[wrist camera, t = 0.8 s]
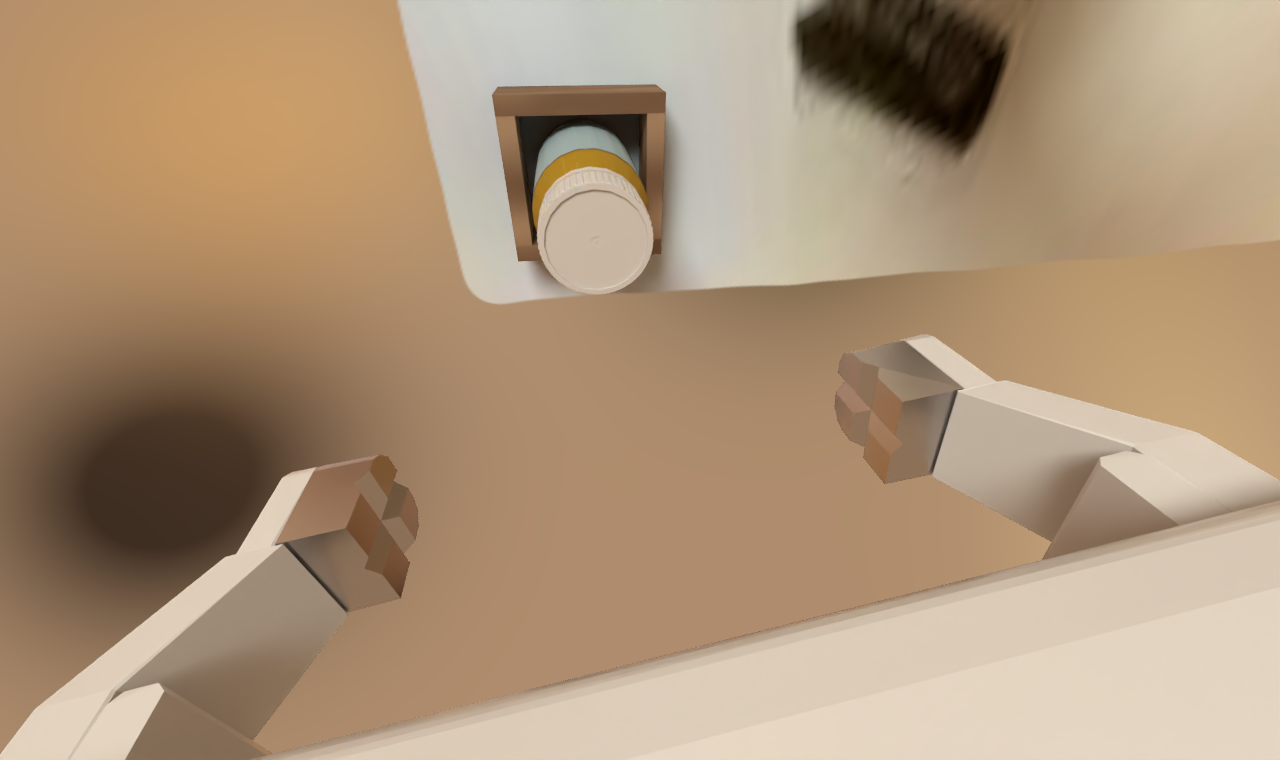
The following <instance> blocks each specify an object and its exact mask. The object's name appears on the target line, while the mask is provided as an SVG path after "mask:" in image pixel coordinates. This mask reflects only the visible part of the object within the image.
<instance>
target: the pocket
mask: <svg viewBox="0 0 1280 760" xmlns="http://www.w3.org/2000/svg"><path fill="white" fill-rule="evenodd" d="M492 98H493V104H494V110H495V117H496V123H497V129H498V136H499V142H500V148H501V155H502V161H503V167H504V174H505V180H506V186H507V193H508V199H509V205H510V212H511V218H512V224H513V231H514V237H515V243H516V250H517V256H518V261H535V260H542V257H541V255H540V250H539V249H538V243H537V230H536V228H535V226H534V222H533V214H532V207H531V199H530V192H529V184H528V176H527V169H526V161H525V153H524V146H523V138H522V131H521V123H520V116H554V115H602V114H639V177H640V179H641V181H642V183H643V186H644V189H645V192H646V195H647V198H648V214H649V216H650V219H651V222H652V226H653V233H654V236H653V239H654V242H653V248H652V253H651V254H661V234H662V202H663V169H664V136H665V103H666V92H665V91H663V90H662V89H661V88H660V87H658V86H657V85H592V86H521V87H497V89H496V90H495V92H494V93H493V95H492Z"/></svg>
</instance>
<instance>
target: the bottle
mask: <svg viewBox="0 0 1280 760" xmlns="http://www.w3.org/2000/svg"><path fill="white" fill-rule="evenodd" d="M532 212H533V218H534V225H535V228H536V230H537V243H538V249H539V250H540V255H541V257H542V261H543V262H544V264H545V266H546V268H547V269H548V271H549V272H550V273H551V274H552V276H553V277H554V278H555V279H556V280H558V281H559V282H560V283H561V284H563V285H564V286H566V287H568V288H570V289H572V290H574V291H577V292H580V293H584V294H592V295H599V294H607V293H611V292H615V291H617V290H620V289H622V288H624V287H626V286H627V285H629V284H630V283H632V282H633V281H634V280H635V279H636V278H637V277H638V276H639V275H640V274H641V273H642V271H643V270H644V269H645V267H646V265H647V263H648V261H649V259H650V256H651V253H652V248H653V242H654V239H653V236H654V233H653V226H652V222H651V219H650V216H649V214H648V198H647V195H646V192H645V189H644V186H643V183H642V181H641V179H640V177H639V175H638V173H637V171H636V169H635V167H634V165H633V163H632V161H631V159H630V157H629V155H628V153H627V151H626V149H625V147H624V145H623V144H622V142H621V141H620V140H619V138H618V137H617V136H616V135H615V133H614V132H612V131H611V130H610V129H608V128H607V127H605V126H604V125H602V124H600V123H597V122H594V121H590V120H573V121H569V122H567V123H564V124H562V125H560V126H558V127H557V128H555V129H554V130H553V131H552V132H551V133H550V134H549V135H548V136H547V137H546V139H545V141H544V143H543V144H542V146H541V148H540V151H539V154H538V160H537V166H536V174H535V183H534V192H533V200H532Z"/></svg>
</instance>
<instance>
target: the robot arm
mask: <svg viewBox="0 0 1280 760" xmlns="http://www.w3.org/2000/svg"><path fill="white" fill-rule="evenodd" d="M838 373H839V374H840V376H841V377H842V378H843V379H844V380H845V381H844V383H843V384H842V385H841V386H840V388H839V389H838V390H837V392H836V396H835V410H836V415H837V420H838V422H839V424H840V426H841V429H842V431H843V432H844V433H845V435H846V436H847V437H848V438H849V440H850V441H852V442H855V443H857V444H859V445H861V446H864V447H865V449H864V456H863V458H864V459H865V460H866V461H867V463H868V464H869V465H870V466H871V468H872V469H873V470H874V471H875V472H876V474H877V475H878V476H879V478H880V479H881V480H882V481H883V483H884V484H887V483H891V482H897V481H902V480H906V479H911V478H915V477H921V476H925V475H930V474H932V477H934V478H935V479H937V480H939V481H941V482H943V483H945V484H947V485H948V486H950V487H952V488H954V489H956V490H957V491H959V492H961V493H963V494H965V495H967V496H968V497H970V498H972V499H974V500H976V501H978V502H980V503H981V504H983V505H985V506H987V507H989V508H990V509H992V510H994V511H996V512H998V513H1000V514H1002V515H1003V516H1005V517H1007V518H1009V519H1011V520H1013V521H1014V522H1016V523H1018V524H1020V525H1022V526H1024V527H1025V528H1027V529H1029V530H1031V531H1033V532H1035V533H1036V534H1038V535H1040V536H1042V537H1044V538H1046V539H1047V540H1050V541H1051V542H1052V543H1051V544H1050V546H1049V548H1048V550H1047V552H1046V553H1045V555H1044V557H1043V558H1042V560H1041V561H1037V562H1033V563H1029V564H1025V565H1021V566H1017V567H1013V568H1009V569H1005V570H1001V571H997V572H993V573H990V574H985V575H982V576H977V577H973V578H969V579H966V580H961V581H957V582H953V583H949V584H945V585H941V586H938V587H934V588H930V589H926V590H922V591H918V592H914V593H910V594H906V595H902V596H898V597H894V598H890V599H886V600H882V601H878V602H874V603H870V604H866V605H862V606H858V607H854V608H850V609H846V610H842V611H838V612H834V613H830V614H827V615H823V616H818V617H814V618H810V619H806V620H803V621H799V622H795V623H791V624H787V625H783V626H779V627H775V628H771V629H767V630H763V631H759V632H755V633H751V634H747V635H743V636H739V637H735V638H731V639H728V640H723V641H720V642H715V643H711V644H707V645H703V646H699V647H695V648H691V649H687V650H684V651H680V652H675V653H672V654H668V655H664V656H660V657H656V658H652V659H648V660H644V661H640V662H636V663H632V664H628V665H624V666H620V667H616V668H612V669H608V670H605V671H600V672H596V673H593V674H589V675H585V676H580V677H577V678H573V679H569V680H565V681H561V682H557V683H553V684H549V685H545V686H541V687H537V688H533V689H529V690H525V691H521V692H517V693H513V694H509V695H505V696H501V697H497V698H493V699H489V700H485V701H481V702H477V703H473V704H469V705H466V706H461V707H457V708H453V709H449V710H445V711H442V712H437V713H434V714H429V715H425V716H422V717H418V718H414V719H410V720H406V721H402V722H398V723H394V724H390V725H386V726H382V727H378V728H374V729H370V730H366V731H362V732H358V733H354V734H350V735H346V736H342V737H338V738H334V739H330V740H326V741H322V742H319V743H314V744H310V745H306V746H303V747H298V748H295V749H290V750H286V751H282V752H278V753H274V754H273V753H271V752H270V751H268V750H267V749H265V748H264V747H262V746H260V745H259V744H257V743H255V742H254V741H253V739H254V738H255V737H256V736H257V734H258V733H259V732H260V730H261V729H262V728H263V726H264V725H265V724H266V722H267V721H268V720H269V718H270V717H271V716H272V715H273V713H274V712H275V711H276V709H277V708H278V707H279V705H280V704H281V703H282V701H283V700H284V699H285V698H286V696H287V695H288V694H289V692H290V691H291V690H292V688H293V687H294V686H295V684H296V683H297V682H298V681H299V679H300V678H301V677H302V675H303V674H304V672H305V671H306V670H307V669H308V668H309V666H310V665H311V664H312V662H313V661H314V660H315V658H316V657H317V656H318V654H319V653H320V652H321V650H322V649H323V648H324V647H325V645H326V644H327V643H328V641H329V640H330V639H331V637H332V636H333V635H334V633H335V632H336V631H337V630H338V628H339V627H340V626H341V624H342V623H343V622H344V620H345V619H346V618H347V616H348V613H347V612H351V611H355V610H359V609H363V608H366V607H370V606H374V605H378V604H382V603H385V602H389V601H393V600H397V599H400V598H401V596H402V592H403V588H404V584H405V580H406V576H407V572H408V568H409V564H410V562H409V561H408V559H407V558H406V557H405V555H404V553H405V551H406V550H407V549H408V548H409V547H410V546H411V545H412V544H413V542H414V541H415V540H416V536H417V531H418V527H419V524H418V509H417V506H416V503H415V500H414V497H413V495H412V494H411V492H410V490H409V489H408V488H407V487H405V486H403V485H401V484H399V483H397V482H395V481H394V479H395V475H396V473H397V469H396V468H395V466H394V465H393V463H392V462H391V460H390V459H389V457H387V456H384V455H375V456H370V457H365V458H360V459H354V460H349V461H344V462H339V463H334V464H329V465H325V466H321V467H315V468H311V469H306V470H301V471H296V472H292V473H290V474H288V475H286V476H285V477H283V478H282V479H281V481H280V483H279V484H278V486H277V488H276V489H275V491H274V493H273V494H272V496H271V498H270V499H269V501H268V503H267V504H266V506H265V508H264V509H263V511H262V513H261V514H260V516H259V517H258V519H257V521H256V523H255V524H254V526H253V527H252V529H251V531H250V533H249V534H248V536H247V537H246V539H245V541H244V542H243V544H242V546H241V547H240V549H239V551H238V552H237V554H236V555H232V556H227V557H225V558H224V559H222V560H221V561H220V562H219V563H217V564H216V565H215V566H214V567H212V568H211V569H210V570H209V571H207V572H206V573H205V574H204V575H202V576H201V577H200V578H199V579H197V580H196V581H195V582H194V583H192V584H191V585H190V586H189V587H187V588H186V589H185V590H184V591H182V592H181V593H180V594H179V595H177V596H176V597H175V598H174V599H172V600H171V601H170V602H168V603H167V604H166V605H165V606H163V608H161V609H160V610H158V611H157V612H156V613H155V614H153V615H152V616H151V617H150V618H148V619H147V620H146V621H145V622H143V623H142V624H141V625H140V626H139V627H137V628H136V629H135V630H134V631H132V632H131V633H130V634H128V635H127V636H126V637H125V638H123V639H122V640H121V641H120V642H118V643H117V644H116V645H115V646H114V647H112V648H111V649H110V650H108V651H107V652H106V653H105V654H103V655H102V656H101V657H100V658H98V659H97V660H96V661H95V662H94V663H92V664H91V665H90V666H88V667H87V668H86V669H85V670H83V671H82V672H81V673H80V674H78V675H77V676H76V677H75V678H73V679H72V680H71V681H70V682H68V683H67V684H66V685H65V686H63V687H62V688H61V689H60V690H58V691H57V692H56V693H55V694H53V695H52V696H51V697H50V698H48V699H47V700H46V701H45V702H43V703H42V704H41V705H40V706H38V707H37V708H36V709H35V710H34V711H33V712H32V714H31V715H30V716H29V717H28V719H27V720H26V722H25V723H24V724H23V725H22V727H21V728H20V729H19V731H18V732H17V733H16V735H15V736H14V737H13V739H12V740H11V741H10V742H9V744H8V745H7V746H6V748H5V749H4V750H3V752H2V753H1V754H0V760H1280V481H1279V480H1277V479H1276V478H1274V477H1272V476H1271V475H1269V474H1267V473H1266V472H1264V471H1262V470H1261V469H1259V468H1257V467H1255V466H1254V465H1252V464H1250V463H1249V462H1247V461H1245V460H1243V459H1242V458H1240V457H1238V456H1237V455H1235V454H1233V453H1232V452H1230V451H1228V450H1226V449H1225V448H1223V447H1221V446H1220V445H1218V444H1216V443H1214V442H1212V441H1211V440H1209V439H1208V438H1206V437H1204V436H1202V435H1201V434H1199V433H1197V432H1194V431H1190V430H1187V429H1183V428H1179V427H1176V426H1172V425H1168V424H1165V423H1161V422H1158V421H1154V420H1150V419H1146V418H1143V417H1139V416H1136V415H1132V414H1128V413H1125V412H1121V411H1117V410H1114V409H1110V408H1106V407H1102V406H1098V405H1095V404H1091V403H1088V402H1084V401H1081V400H1077V399H1073V398H1070V397H1066V396H1062V395H1059V394H1055V393H1051V392H1047V391H1044V390H1040V389H1036V388H1033V387H1029V386H1025V385H1022V384H1018V383H1014V382H1011V381H1007V380H1004V381H999V382H996V381H995V380H993V379H992V378H990V377H989V376H988V375H986V374H985V373H984V372H982V371H981V370H980V369H978V368H977V367H975V366H974V365H973V364H971V363H970V362H969V361H967V360H966V359H964V358H963V357H962V356H960V355H959V354H957V353H956V352H955V351H953V350H952V349H951V348H949V347H948V346H946V345H945V344H944V343H942V342H941V341H939V340H938V339H937V338H935V337H934V336H931V335H927V334H922V335H918V336H914V337H910V338H906V339H902V340H898V341H897V342H893V343H889V344H885V345H880V346H876V347H871V348H867V349H862V350H858V351H853V352H848V353H845V354H843V356H842V358H841V360H840V363H839V370H838Z"/></svg>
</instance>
